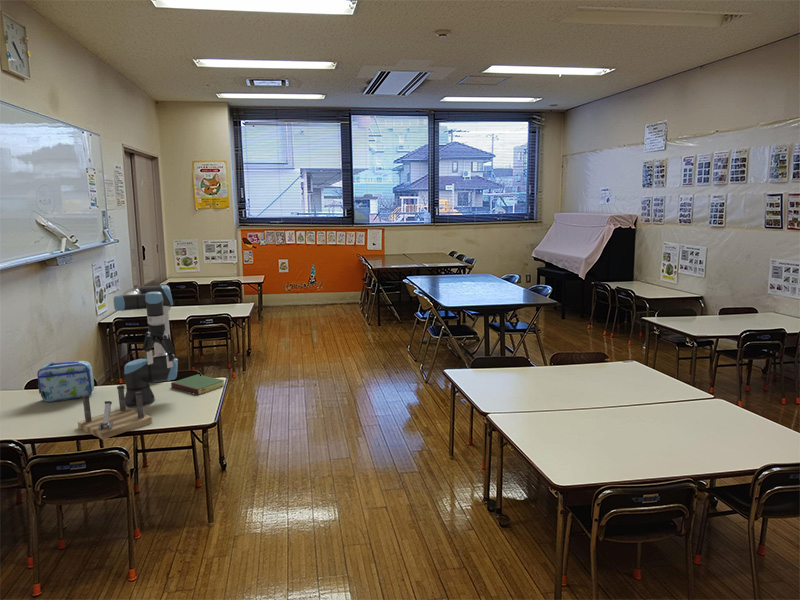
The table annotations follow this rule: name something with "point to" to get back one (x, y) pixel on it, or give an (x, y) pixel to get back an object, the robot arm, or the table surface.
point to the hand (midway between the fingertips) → (160, 365)
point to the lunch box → (65, 380)
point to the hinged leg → (106, 415)
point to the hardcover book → (197, 384)
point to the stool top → (115, 417)
